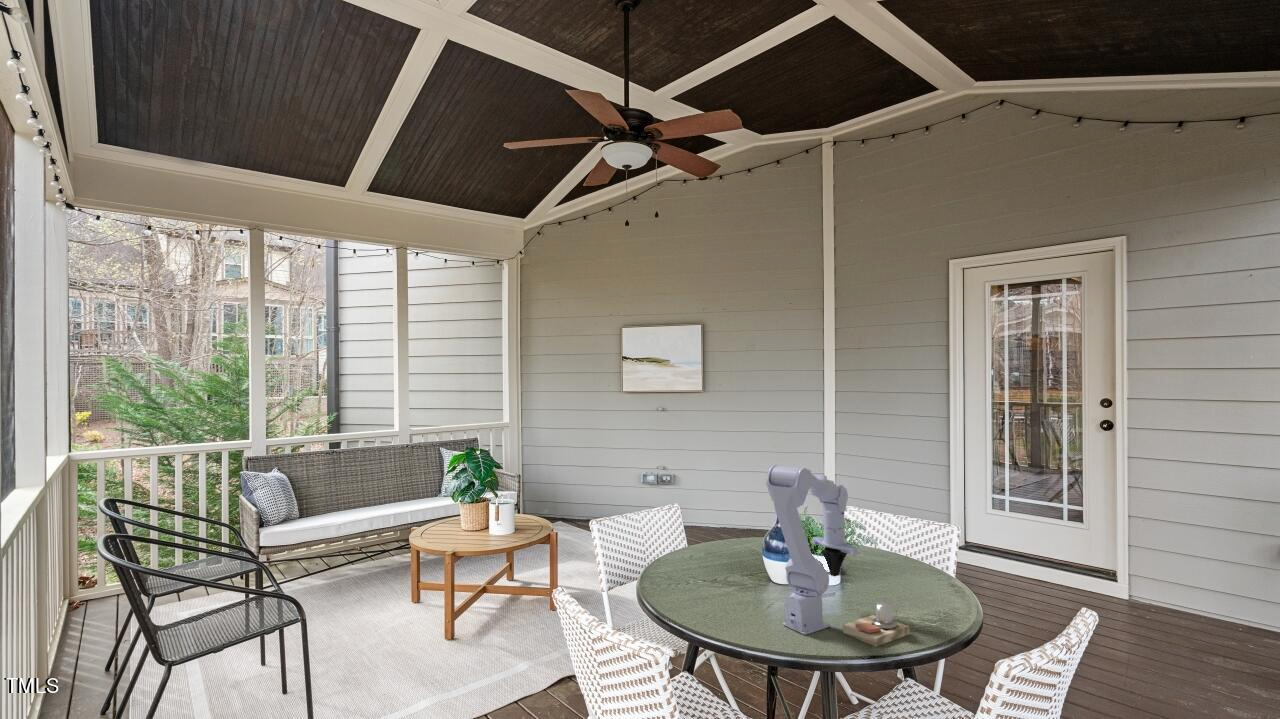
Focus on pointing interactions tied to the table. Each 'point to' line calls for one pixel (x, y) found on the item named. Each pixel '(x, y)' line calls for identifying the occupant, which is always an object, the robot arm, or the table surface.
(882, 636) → the hitch block
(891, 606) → the silver knob
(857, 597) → the table surface
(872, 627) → the latch tab
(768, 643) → the table surface
